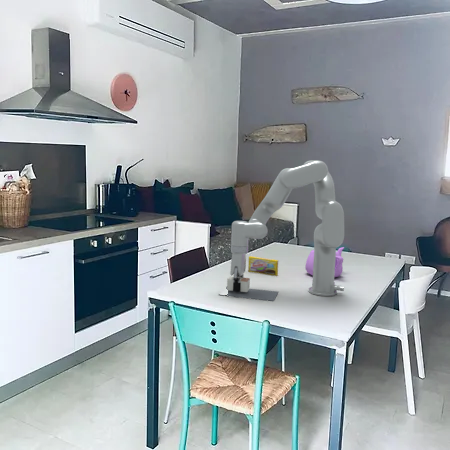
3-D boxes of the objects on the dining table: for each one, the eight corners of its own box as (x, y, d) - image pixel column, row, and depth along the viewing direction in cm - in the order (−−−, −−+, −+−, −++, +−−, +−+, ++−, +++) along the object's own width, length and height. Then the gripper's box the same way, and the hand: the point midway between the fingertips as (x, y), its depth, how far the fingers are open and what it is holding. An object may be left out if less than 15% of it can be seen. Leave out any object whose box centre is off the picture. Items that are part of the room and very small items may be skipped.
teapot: (329, 283, 226) (331, 253, 224) (300, 273, 243) (301, 245, 241) (360, 277, 238) (363, 249, 236) (330, 269, 256) (332, 242, 253)
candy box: (247, 272, 244) (248, 256, 243) (249, 271, 246) (250, 255, 245) (276, 276, 236) (277, 260, 235) (278, 275, 238) (278, 259, 237)
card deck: (229, 287, 208) (230, 276, 207) (249, 289, 206) (249, 278, 205) (226, 290, 203) (227, 278, 203) (246, 292, 201) (247, 280, 200)
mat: (278, 292, 207) (278, 291, 207) (273, 301, 194) (273, 300, 194) (226, 287, 213) (226, 286, 213) (218, 295, 200) (218, 294, 200)
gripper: (235, 245, 211) (234, 283, 214) (226, 252, 195) (225, 293, 197) (251, 246, 209) (250, 285, 212) (243, 253, 193) (242, 295, 195)
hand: (238, 289), depth 204 cm, fingers closed on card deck, 5 cm apart
